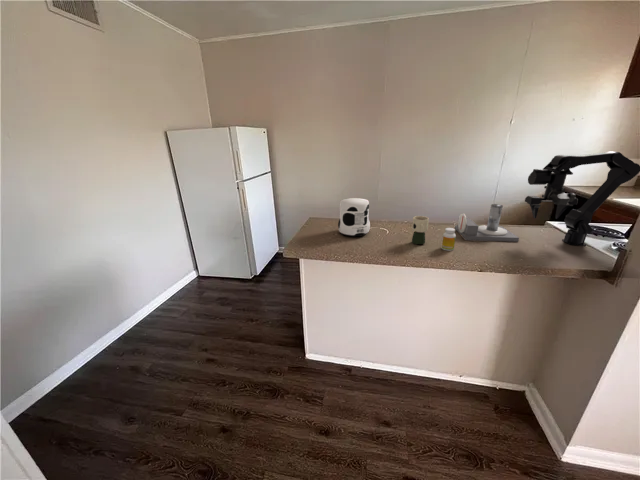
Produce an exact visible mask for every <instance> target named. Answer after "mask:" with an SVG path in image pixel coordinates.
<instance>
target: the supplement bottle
mask: <svg viewBox="0 0 640 480" xmlns="http://www.w3.org/2000/svg"><path fill="white" fill-rule="evenodd" d="M455 232H456V229H455V228H453V227H446V228H445V231H444V233H442V240H441V245H440V246H441V247H440V248H441V249H442V250H443V251H447V252H448V251H453V250H454V249H455V243H456V237H457V235H456V233H455Z"/></svg>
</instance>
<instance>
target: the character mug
mask: <svg viewBox="0 0 640 480" xmlns="http://www.w3.org/2000/svg"><path fill="white" fill-rule="evenodd" d="M429 221H430V218H429V217H427V216H423V215H415V216H413V217H412V225H411V230H412V232H413V231H414V232H413V234H412V237H411V243H412V244H414V245H423V244H426V232H427V231H428V228H429Z"/></svg>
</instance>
